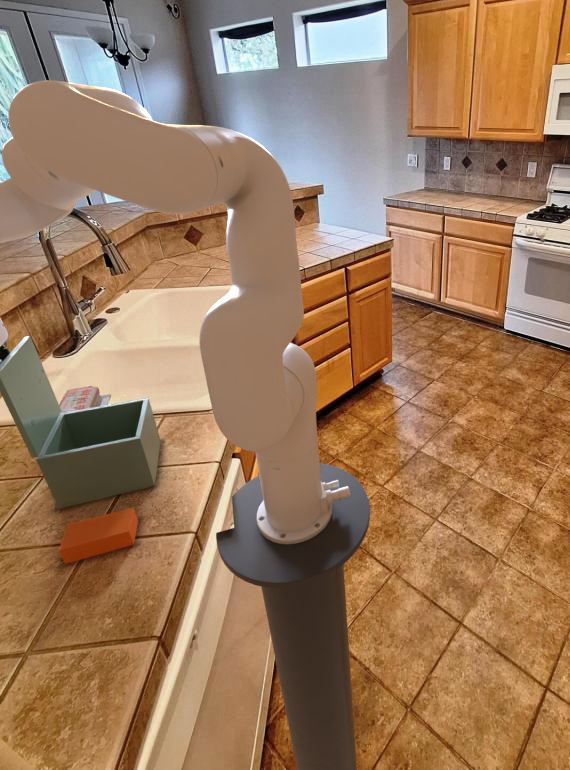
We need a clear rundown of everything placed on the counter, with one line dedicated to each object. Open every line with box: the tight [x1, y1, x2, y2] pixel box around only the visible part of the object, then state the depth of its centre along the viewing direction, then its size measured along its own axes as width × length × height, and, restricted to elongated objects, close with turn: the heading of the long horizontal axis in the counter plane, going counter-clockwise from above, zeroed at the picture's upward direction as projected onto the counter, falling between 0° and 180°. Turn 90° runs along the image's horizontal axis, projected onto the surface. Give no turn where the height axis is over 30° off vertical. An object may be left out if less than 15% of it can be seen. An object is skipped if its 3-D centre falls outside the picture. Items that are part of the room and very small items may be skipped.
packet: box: [58, 507, 139, 565], centre depth 67 cm, size 9×5×3 cm, turn 112°
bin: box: [35, 397, 162, 510], centre depth 79 cm, size 15×14×11 cm
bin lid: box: [0, 335, 61, 459], centre depth 70 cm, size 15×14×5 cm
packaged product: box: [58, 385, 112, 413], centre depth 93 cm, size 18×5×10 cm
